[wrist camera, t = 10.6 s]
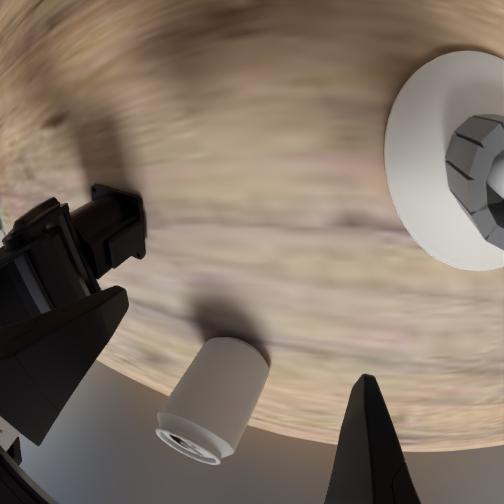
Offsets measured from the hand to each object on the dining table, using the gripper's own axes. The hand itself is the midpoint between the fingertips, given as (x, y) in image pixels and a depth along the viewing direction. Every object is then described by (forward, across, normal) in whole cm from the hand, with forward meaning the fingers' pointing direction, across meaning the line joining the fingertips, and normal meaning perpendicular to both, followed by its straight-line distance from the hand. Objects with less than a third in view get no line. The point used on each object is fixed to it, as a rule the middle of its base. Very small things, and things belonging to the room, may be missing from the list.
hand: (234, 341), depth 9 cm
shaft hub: (+11, -11, -7) cm, 17 cm away
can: (+12, +2, +18) cm, 21 cm away
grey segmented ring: (+10, -11, -7) cm, 16 cm away
